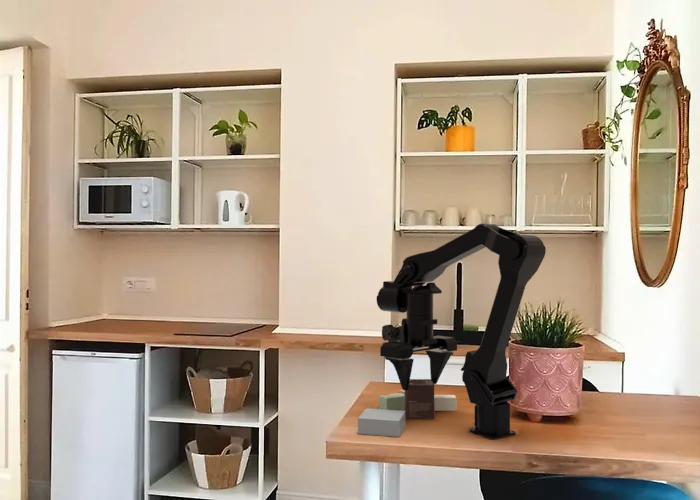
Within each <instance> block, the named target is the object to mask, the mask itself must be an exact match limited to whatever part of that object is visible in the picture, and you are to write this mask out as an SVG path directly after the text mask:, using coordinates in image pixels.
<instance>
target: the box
mask: <svg viewBox="0 0 700 500" xmlns="http://www.w3.org/2000/svg"><path fill="white" fill-rule="evenodd" d="M434 395H435V384H434V383H433V382H432V380H431V378H430V379H429V378H427V379H426V378H419V379H417V378H416V379H415V378H410V381H409V386H408V389H407V390H405V409H404V411H405V419H406V420H407V419H410V420H416V419H417V420H419V419H420V420H422V419H423V420H426V419H427V420H431V419H432V420H434V419H435V411H434Z"/></svg>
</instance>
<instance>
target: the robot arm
mask: <svg viewBox="0 0 700 500" xmlns="http://www.w3.org/2000/svg"><path fill="white" fill-rule="evenodd" d="M485 248H487V249H488V250H489V251H490V252H492V253H494V254H497V255H499V256H498V263H497V264H498V268H499V274H500V280H499V283H498V286H497V289H496V292H495V297H494V299H493V303H492V306H491V309H490V311H489V312H490V313H489V316H488V319H487V323H486V325H485V330H484V332H483V336H482V339H481V342H480V345H479V347H478V348H477V349H475V350H469V351H467V352H466V354H465V357H464V358H465V359H464V363H463V366H461V369H460V371H461V372H462V375H461V379H462V382H463V384H464V386H465V388H466V392H467V396H468V399H469V403H471V404H475V405H474V427H471V428H469V432H471V433H474V434H476V435H479V436H482V437H485V438H488V439H490V440H496V439H499V438H504V437H509V436H515V435H516V434H517V431H515V430H512V429H511V403H510V402H509V401H515V399H516V398H517V397H516V396H517V393H518V389H517V388H516V386H515V384H513V383H512V381H510V379H509V378H508V376H507V373H508V372H507V371H508V362H507V355H506V352H507V351H506V350H507V346H508V343H509V340H510V338H511V334H512V331H513V328H514V324H515V321H516V318H517V314H518V312H519V309H520V306H521V302H522V299H523V296H524V292H525V289H526V285H528V283H529V281H530V280H531V279H532V278H533V277H534V276H535V274H536V273H537V272H538V270H539V268H540V266H541V264H542V262H543V260H544V259H545V255H546V252H547V250H546V246H545V244H544V241H542V239H541V238H540V237H538V236H536V235H534V234H533V235H531V234H520V233H517V232H514V231H512V230H507V229H505V228H502V227H501V226H498V225H496V224H493V223H479V224H477V225H475V226H474V228H472V229H470V230H468V231H466V232H464V233H462V234H461V235H459V236H457V237H456V238H454V239H452V240H450V241H448V242H446V243H444V244H443V245H441V246H439V247H437V248H436V249H435V248H434V249H433V250H429V251H424V252H419V253H417V254H412V255H409V256H406V257H405V258H404V259H403V260H402V266H401V268H400V269H399V271H398V273H397V275H396V277H395V278H394V280H386V281H384V280H383V282H382V286H381V288H380V289H379V290H378V293H377V296H376V304H377V306H378V308H379V309H380V310H381V311H383V312H392V313H403V314H404V313H406V318H402V320H401V322H400V323H401V325H399V326H396V327H395V326H394V325H393V324H384V325H383V326H382V328H381V337H382V340H383V341H385V342H382V344H381V345H380V347H379V348H380V350H379V351H380V353H379V354H380V357H384V359H385V360H387V361H389V362H390V363H391V364H392V365H393V367H394V369H395V371H396V374H397V375H396V376H397V377H398V381H399V383H400V385H401V386H400V387H401V390H407V389H408V386H409V381H410V379H411V377H412V370H413V364H414V358H411V357H412V355H413V354H414V353H417V352H423V351H425V353H426V355H427V357H428V358H429V367H430V368H429V370H430V379H431V380H432V382H433V383H434V385H437V384H438V381H439V379H440V377H441V375H442V373H443V371H444V368H445V367H446V365H447V363H448V361H449V360H450V358H451V356H453V355H454V352H455V351H458V341H457V340H456V338H455V337H453V336H444V335H434V325H437V324H438V319H437V318H434V295H438V294H442V293H443V291H442V290H441V288H439V287H438V286H437V285H436V283H435V280H436V279H438V278H439V277H440V276H442V274H443V273H444V272H445V270H446V269H447V268H448V267H450V266H451V265H453V264H455V263H457V262H459V261H462V260H463V259H466V258H467V257H469V256H472V255H474V254H475V253H477V252H479V251H481V250H483V249H485ZM425 284H426V285H425ZM386 341H387V342H386Z"/></svg>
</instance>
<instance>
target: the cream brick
mask: <svg viewBox="0 0 700 500" xmlns="http://www.w3.org/2000/svg"><path fill="white" fill-rule="evenodd" d="M457 400H458V399H457V397H456V395H455V394H434V412H435V411H438V412H439V411H442V412H446V411H447V412H448V411H449V412H450V411H451V412H452V411H453V412H454V411H455V412H456V411H457V410H458V409H457V407H458V406H457V403H458V402H457Z"/></svg>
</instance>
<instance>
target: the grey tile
mask: <svg viewBox="0 0 700 500" xmlns="http://www.w3.org/2000/svg"><path fill="white" fill-rule="evenodd" d="M405 427H406V415H405V410H401V409H399V410H385V409H379V408H368V407H367V408H366V409H364V411H363V412H362V413H361V414H360V415H359V416H358V418H357V434H358V435H368V436H369V435H370V436H382V437H394V438H395V437H396V438H400V436H401V434H402V433H403V430H404V429H405Z"/></svg>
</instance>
